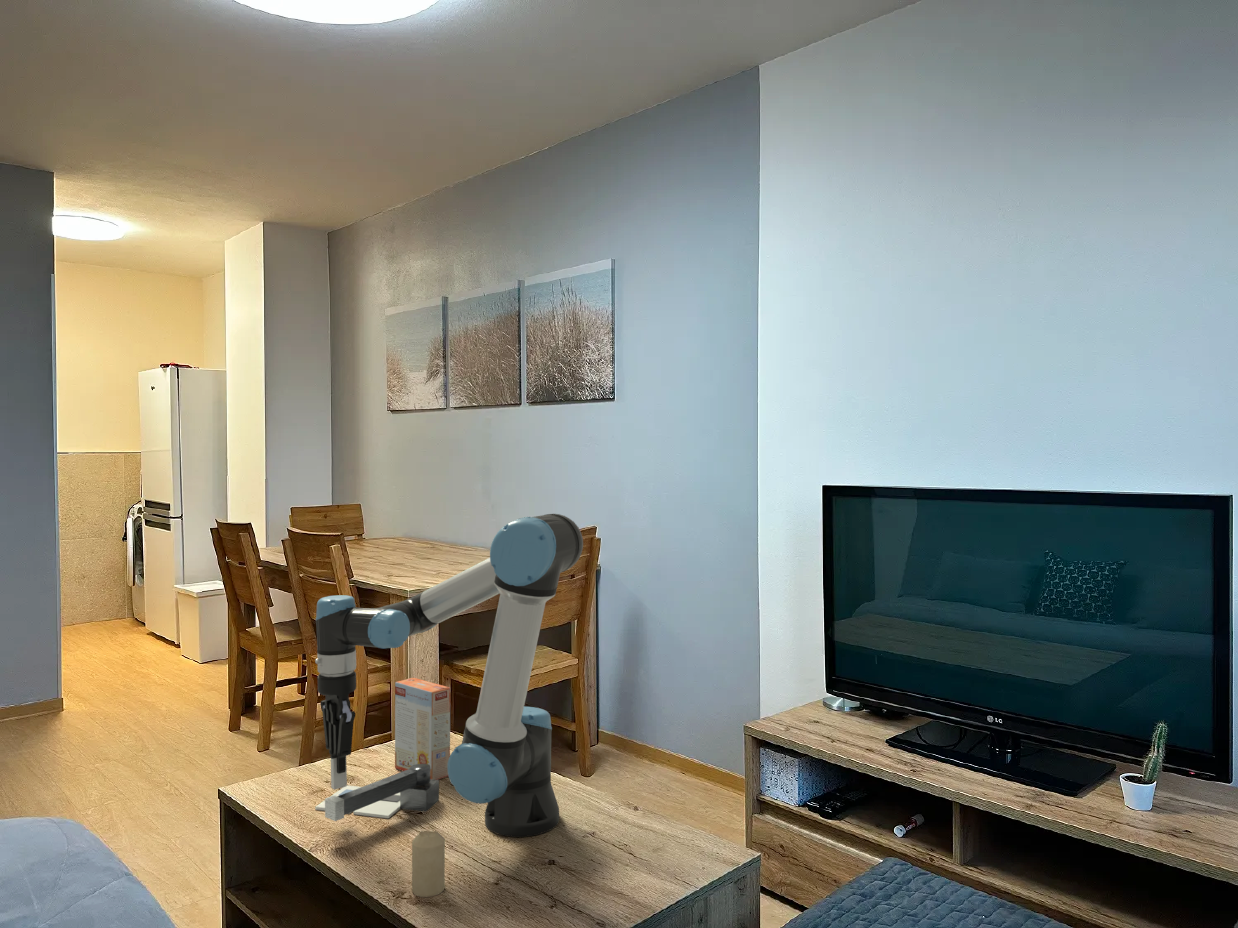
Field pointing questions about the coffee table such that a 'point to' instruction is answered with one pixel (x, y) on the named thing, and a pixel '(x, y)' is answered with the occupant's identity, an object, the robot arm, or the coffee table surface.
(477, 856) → the coffee table surface
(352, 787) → the label plate
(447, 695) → the cracker box
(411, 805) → the pivot post
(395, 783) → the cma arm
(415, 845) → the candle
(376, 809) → the label plate
